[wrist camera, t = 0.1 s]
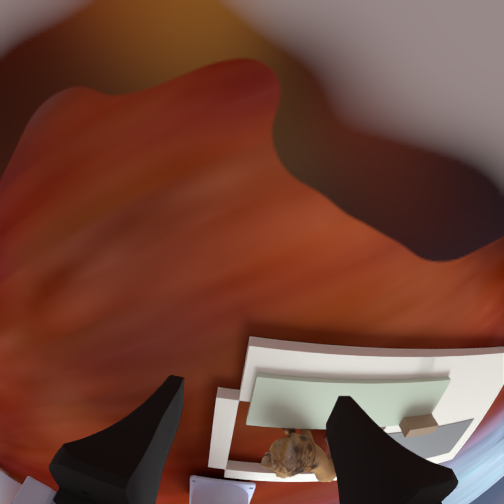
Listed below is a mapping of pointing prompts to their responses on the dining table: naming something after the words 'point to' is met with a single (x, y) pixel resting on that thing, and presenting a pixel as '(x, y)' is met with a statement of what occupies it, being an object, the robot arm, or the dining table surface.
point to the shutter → (362, 391)
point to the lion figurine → (299, 457)
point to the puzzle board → (367, 368)
